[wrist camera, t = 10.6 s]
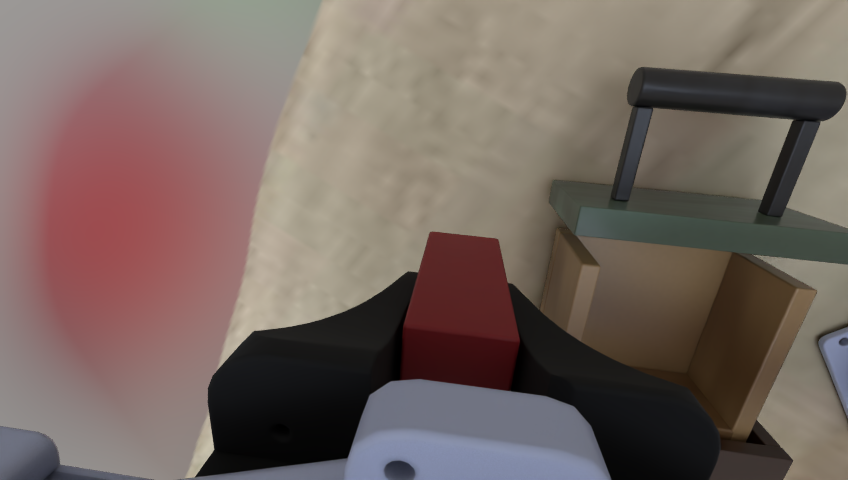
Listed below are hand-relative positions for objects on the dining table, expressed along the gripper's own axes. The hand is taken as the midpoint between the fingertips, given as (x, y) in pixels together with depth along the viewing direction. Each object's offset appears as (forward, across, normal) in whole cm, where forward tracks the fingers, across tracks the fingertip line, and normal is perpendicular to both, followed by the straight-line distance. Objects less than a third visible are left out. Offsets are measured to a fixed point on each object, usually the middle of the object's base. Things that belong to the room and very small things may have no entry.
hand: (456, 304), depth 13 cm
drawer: (+9, -9, 0) cm, 13 cm away
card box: (0, 0, 0) cm, 1 cm away
